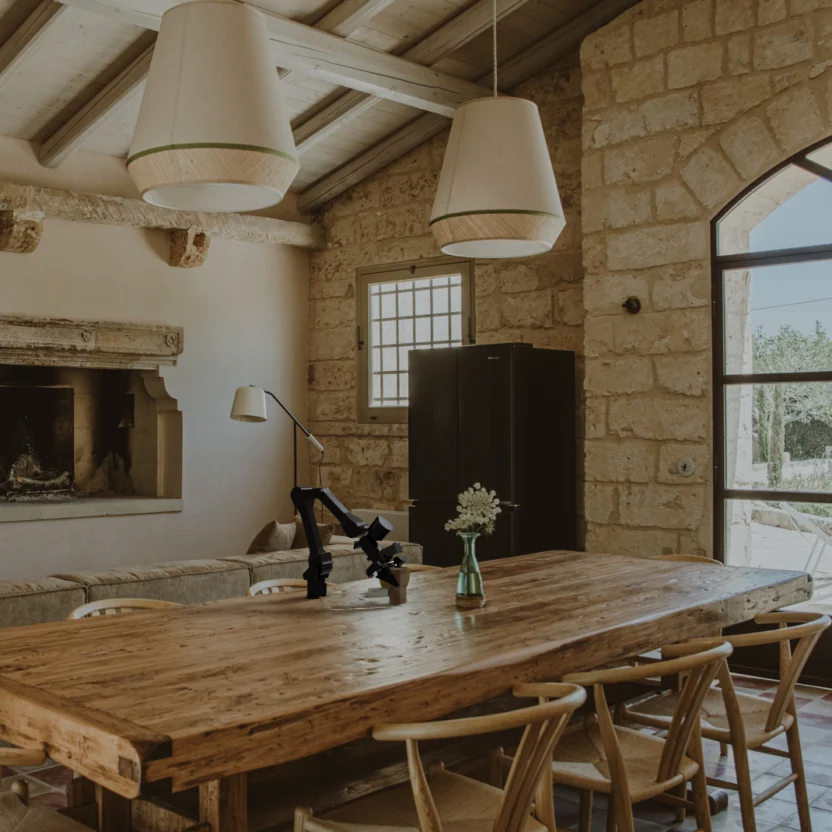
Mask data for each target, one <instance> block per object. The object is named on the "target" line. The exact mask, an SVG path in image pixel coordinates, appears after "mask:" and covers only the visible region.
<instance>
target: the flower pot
mask: <svg viewBox="0 0 832 832" xmlns="http://www.w3.org/2000/svg"><path fill="white" fill-rule="evenodd" d="M401 568H405V569H407V587H408V585H409V583H410V578H411V577H410V576H411V571H412V570H411V569H412V568H411V567H409V566H401ZM378 581H379V583H380V584H379V585H380V588H382V587H385V588H388V587H389V583H387V582H385V581H382V580H380V579H378Z"/></svg>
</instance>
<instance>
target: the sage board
mask: <svg viewBox="0 0 832 832" xmlns="http://www.w3.org/2000/svg"><path fill="white" fill-rule="evenodd" d="M408 594H409V593H407V603H408V602H410V603H411V602H412V599H411V598H410V595H408ZM367 596H368V600H369V603H389V596H384V597H370V596H369V595H368V594H367Z"/></svg>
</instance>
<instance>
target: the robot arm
mask: <svg viewBox="0 0 832 832" xmlns="http://www.w3.org/2000/svg"><path fill="white" fill-rule="evenodd" d="M289 497H290V499H291V502H292V505H293V507H295V509H296V510H297V511H298V513H299V515H300V516H299V517H300V520H301V523H302V527H303V531H304V535H305V538H306V542H307V547H308V551H309V554H308V559H307V563H308V568H307V569H306V570H305V571H304V572H303V573H302V577H303V581H306V598H307V599H318V598H317V597H320V598H325V597H326V596H327V595H328V594H327V593H328V589H327V588H328V585H327V582H326V579H328V578H329V577H330V573H331V572H332V570H333V569H334V565H333V564H334V563H335V562H334V560H333V558H332V553H331V551H326V550H325V548H324V546H323V542H322V538H321V533H320V532H319V531H320V530H319V528H318V522H317V519H316V515H315V511H314V506H315V502H316V500H315V499H318V500H319V502H321V504H323V506H324V507H325V508H326V509H327V510H328V511H329V512H330V513H331V514H332V516H333V517H334V518H336V520H337V521H338V522H339V524H340V526H341V529H342V531H343V532H344V534H345V536H347V538H349V539H357V538H359V539H358V540H354V541H353V547H352V548H353V550H358V549H361V551H362V552H363V553H364V555H366V561H367V562H371V563H370V564H369V566H368V567H367V568H366V569H365V575H366V577H367V578H368V579H372V578H374V577H375V579H378V580H379V579H380V580H382V581H385V582H387V583H389V584H391V585H393V586H395V587H398V586H399V584H398V582H397V580H396V579H395V577H394V576H393V574H392V573H391V569H393V568H401V567H403V565H404V564H405V563H406V562H407V559H406V557H405V556H404V555H397V554H399V553H400V554H401V553H402V552H403V547H404V545H403V544H402V543H401V542H399V541H395V542H393V543H391V544H390V545H389V546H388V545H387V546H381V544H379V542H382V541H384V539H386V538H387V536H388V535H389V534H390V533H391V532H392V531H393V530H394V527H393V524H392V523H391V522H390V521H388V520H387V519H385V518H384V517H382V516H381V515H377V516H376V517H375V518H374V520H373V521H372V522H371V523H370V524H368V523H366V521H364V520H363V519H361V518H360V517H359V516H357V515H355V514H352V513H351V512H350V511H349V510H348V509H347V508H346V507H345V505H344V504H343V503H341V501H339V499H338V498H336V496H335V495H334V494H333V493H332V492H331V490H330V489H329V488H328V487H326V486H321V487H315V488H314V487H313V488H312V487H311V486H310V485H301V486H295V487H293V488H292V489H291V491H290V492H289ZM395 555H396V556H395ZM375 573H376V574H377V575H375Z"/></svg>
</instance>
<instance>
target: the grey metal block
mask: <svg viewBox="0 0 832 832" xmlns="http://www.w3.org/2000/svg"><path fill="white" fill-rule="evenodd" d="M367 591H368V592H367V593H368V595H369V596H370V597H384V596H388V589H387V588H385V587H368V589H367ZM368 595H367V596H368Z"/></svg>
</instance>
